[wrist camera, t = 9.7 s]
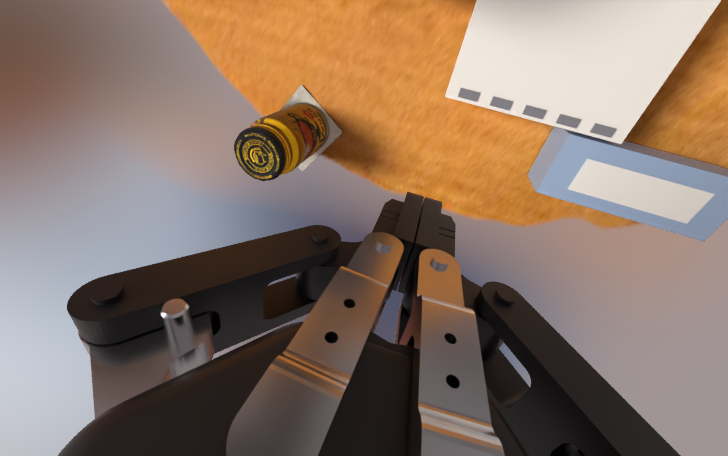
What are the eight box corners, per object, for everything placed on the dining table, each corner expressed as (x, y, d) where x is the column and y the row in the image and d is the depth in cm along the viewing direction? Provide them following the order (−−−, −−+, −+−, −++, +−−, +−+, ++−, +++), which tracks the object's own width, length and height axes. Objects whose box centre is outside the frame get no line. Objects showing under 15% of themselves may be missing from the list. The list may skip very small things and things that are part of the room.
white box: (496, -59, 26) (502, -77, 22) (694, -17, 25) (742, -29, 20) (446, 89, 33) (444, 96, 29) (599, 130, 31) (621, 144, 27)
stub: (556, 122, 32) (570, 134, 28) (721, 166, 30) (762, 186, 26) (527, 174, 35) (536, 192, 31) (674, 217, 33) (704, 242, 29)
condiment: (343, 131, 38) (302, 163, 29) (302, 171, 43) (255, 210, 33) (302, 84, 37) (244, 100, 27) (264, 130, 41) (202, 158, 31)
